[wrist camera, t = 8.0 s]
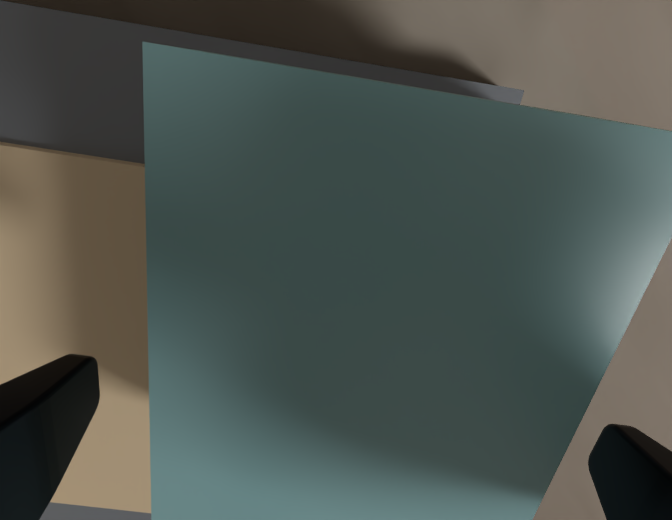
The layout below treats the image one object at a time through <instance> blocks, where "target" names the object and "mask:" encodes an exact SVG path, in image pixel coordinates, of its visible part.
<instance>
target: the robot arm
mask: <svg viewBox="0 0 672 520" xmlns="http://www.w3.org/2000/svg"><path fill="white" fill-rule="evenodd" d="M99 399H100V388H99V374H98V364H97V360H96V359H95V358H94V357H92V356H87V355H79V354H67V355H65V356H62V357H60V358H58V359H56V360H54V361H51V362H49V363H47V364H45V365H43V366H40V367H38V368H36V369H34V370H31V371H29V372H27V373H25V374H23V375H20V376H18V377H16V378H14V379H11V380H9V381H7V382H5V383H3V384H0V520H39V519H40V518H41V516H42V514H43V513H44V511H45V509H46V508H47V506H48V504H49V503H50V501H51V499H52V498H53V496H54V494H55V492H56V490H57V488H58V486H59V484H60V482H61V480H62V478H63V476H64V474H65V472H66V470H67V468H68V466H69V464H70V462H71V460H72V458H73V456H74V454H75V452H76V450H77V448H78V446H79V444H80V442H81V440H82V438H83V436H84V434H85V432H86V430H87V428H88V426H89V424H90V422H91V420H92V418H93V416H94V414H95V412H96V409H97V407H98V404H99ZM588 466H589V471H590V474H591V477H592V480H593V482H594V485H595V488H596V491H597V494H598V497H599V499H600V502H601V505H602V508H603V511H604V513H605V516H606V519H607V520H672V452H671V451H670V450H668V449H667V448H665V447H664V446H662V445H661V444H659V443H658V442H656V441H655V440H653V439H652V438H650V437H648V436H647V435H645V434H644V433H642V432H641V431H639V430H638V429H636V428H634V427H631V426H626V425H618V424H609V425H607V426H606V427H604V429H603V431H602V432H601V434H600V436H599V438H598V440H597V442H596V444H595V446H594V448H593V450H592V451H591V453H590V456H589V460H588Z"/></svg>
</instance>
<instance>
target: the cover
mask: <svg viewBox="0 0 672 520" xmlns="http://www.w3.org/2000/svg"><path fill="white" fill-rule="evenodd" d="M142 49H143V102H144V154H145V207H146V260H147V313H148V365H149V418H150V471H151V520H532V519H533V517H534V515H535V513H536V511H537V509H538V507H539V505H540V503H541V501H542V499H543V497H544V495H545V493H546V491H547V489H548V487H549V485H550V483H551V480H552V478H553V476H554V474H555V472H556V470H557V468H558V466H559V464H560V462H561V460H562V458H563V456H564V454H565V452H566V450H567V448H568V446H569V444H570V442H571V440H572V438H573V436H574V434H575V432H576V430H577V428H578V426H579V424H580V422H581V420H582V418H583V416H584V414H585V412H586V410H587V408H588V406H589V404H590V402H591V400H592V398H593V395H594V393H595V391H596V389H597V387H598V385H599V383H600V381H601V379H602V377H603V375H604V373H605V371H606V369H607V367H608V365H609V363H610V361H611V359H612V357H613V355H614V353H615V351H616V349H617V347H618V345H619V343H620V341H621V339H622V337H623V335H624V333H625V331H626V329H627V327H628V325H629V323H630V321H631V319H632V317H633V315H634V313H635V310H636V308H637V306H638V304H639V302H640V300H641V298H642V296H643V294H644V292H645V290H646V288H647V286H648V284H649V282H650V280H651V278H652V276H653V274H654V272H655V270H656V268H657V266H658V264H659V262H660V260H661V258H662V256H663V254H664V252H665V250H666V248H667V246H668V244H669V242H670V240H671V238H672V131H668V130H663V129H657V128H651V127H646V126H640V125H634V124H629V123H623V122H617V121H612V120H606V119H600V118H595V117H589V116H583V115H577V114H571V113H565V112H559V111H554V110H548V109H542V108H536V107H530V106H524V105H518V104H512V103H507V102H501V101H495V100H489V99H483V98H477V97H471V96H465V95H459V94H454V93H448V92H442V91H436V90H430V89H424V88H418V87H412V86H407V85H401V84H395V83H389V82H383V81H377V80H371V79H365V78H359V77H354V76H348V75H342V74H336V73H330V72H324V71H318V70H312V69H307V68H301V67H295V66H289V65H283V64H277V63H271V62H265V61H259V60H254V59H248V58H242V57H236V56H230V55H224V54H218V53H212V52H206V51H200V50H193V49H187V48H180V47H174V46H168V45H161V44H155V43H149V42H142Z"/></svg>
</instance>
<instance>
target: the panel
mask: <svg viewBox="0 0 672 520" xmlns="http://www.w3.org/2000/svg"><path fill="white" fill-rule="evenodd" d="M142 42H149V43H155V44H161V45H168V46H174V47H180V48H187V49H193V50H200V51H206V52H212V53H218V54H224V55H230V56H236V57H242V58H248V59H254V60H259V61H265V62H271V63H277V64H283V65H289V66H295V67H301V68H307V69H312V70H318V71H324V72H330V73H336V74H342V75H348V76H354V77H359V78H365V79H371V80H377V81H383V82H389V83H395V84H401V85H407V86H412V87H418V88H424V89H430V90H436V91H442V92H448V93H454V94H459V95H465V96H471V97H477V98H483V99H489V100H495V101H501V102H507V103H512V104H518V105H520V102H521V99H522V96H523V93H524V90H519V89H513V88H507V87H502V86H496V85H490V84H484V83H478V82H473V81H467V80H461V79H455V78H449V77H443V76H438V75H432V74H426V73H420V72H414V71H409V70H403V69H397V68H391V67H385V66H379V65H374V64H368V63H362V62H356V61H350V60H345V59H339V58H333V57H327V56H321V55H316V54H310V53H304V52H298V51H292V50H286V49H281V48H275V47H269V46H263V45H257V44H252V43H246V42H240V41H234V40H228V39H223V38H217V37H211V36H205V35H199V34H193V33H188V32H182V31H176V30H170V29H164V28H159V27H153V26H147V25H141V24H135V23H129V22H124V21H118V20H112V19H106V18H100V17H95V16H89V15H83V14H77V13H71V12H66V11H60V10H54V9H48V8H42V7H36V6H31V5H25V4H19V3H13V2H7V1H2V0H0V384H3V383H5V382H7V381H9V380H11V379H14V378H16V377H18V376H20V375H23V374H25V373H27V372H29V371H31V370H34V369H36V368H38V367H40V366H43V365H45V364H47V363H49V362H51V361H54V360H56V359H58V358H60V357H62V356H65V355H67V354H79V355H87V356H92V357H94V358H95V359H96V360H97V364H98V374H99V388H100V399H99V404H98V407H97V409H96V412H95V414H94V416H93V418H92V420H91V422H90V424H89V426H88V428H87V430H86V432H85V434H84V436H83V438H82V440H81V442H80V444H79V446H78V448H77V450H76V452H75V454H74V456H73V458H72V460H71V462H70V464H69V466H68V468H67V470H66V472H65V474H64V476H63V478H62V480H61V482H60V484H59V486H58V488H57V490H56V492H55V494H54V496H53V498H52V499H51V501H50V503H49V504H48V506H47V508H46V509H45V511H44V513H43V514H42V516H41V518H40V519H39V520H151V471H150V418H149V365H148V313H147V260H146V207H145V154H144V102H143V49H142Z"/></svg>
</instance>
